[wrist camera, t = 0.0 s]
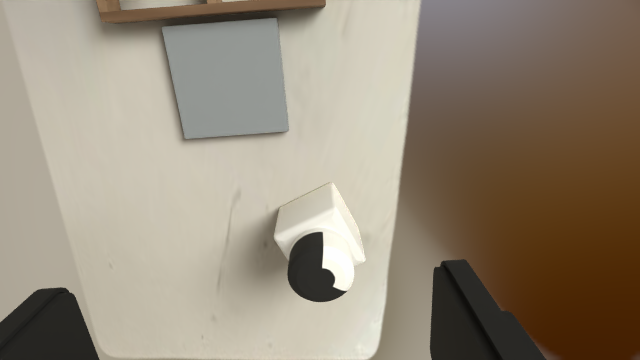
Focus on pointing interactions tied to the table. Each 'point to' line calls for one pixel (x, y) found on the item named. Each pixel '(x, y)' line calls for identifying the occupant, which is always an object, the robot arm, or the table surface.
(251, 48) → the pad
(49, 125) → the table surface
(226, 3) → the bay frame
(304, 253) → the medicine bottle
